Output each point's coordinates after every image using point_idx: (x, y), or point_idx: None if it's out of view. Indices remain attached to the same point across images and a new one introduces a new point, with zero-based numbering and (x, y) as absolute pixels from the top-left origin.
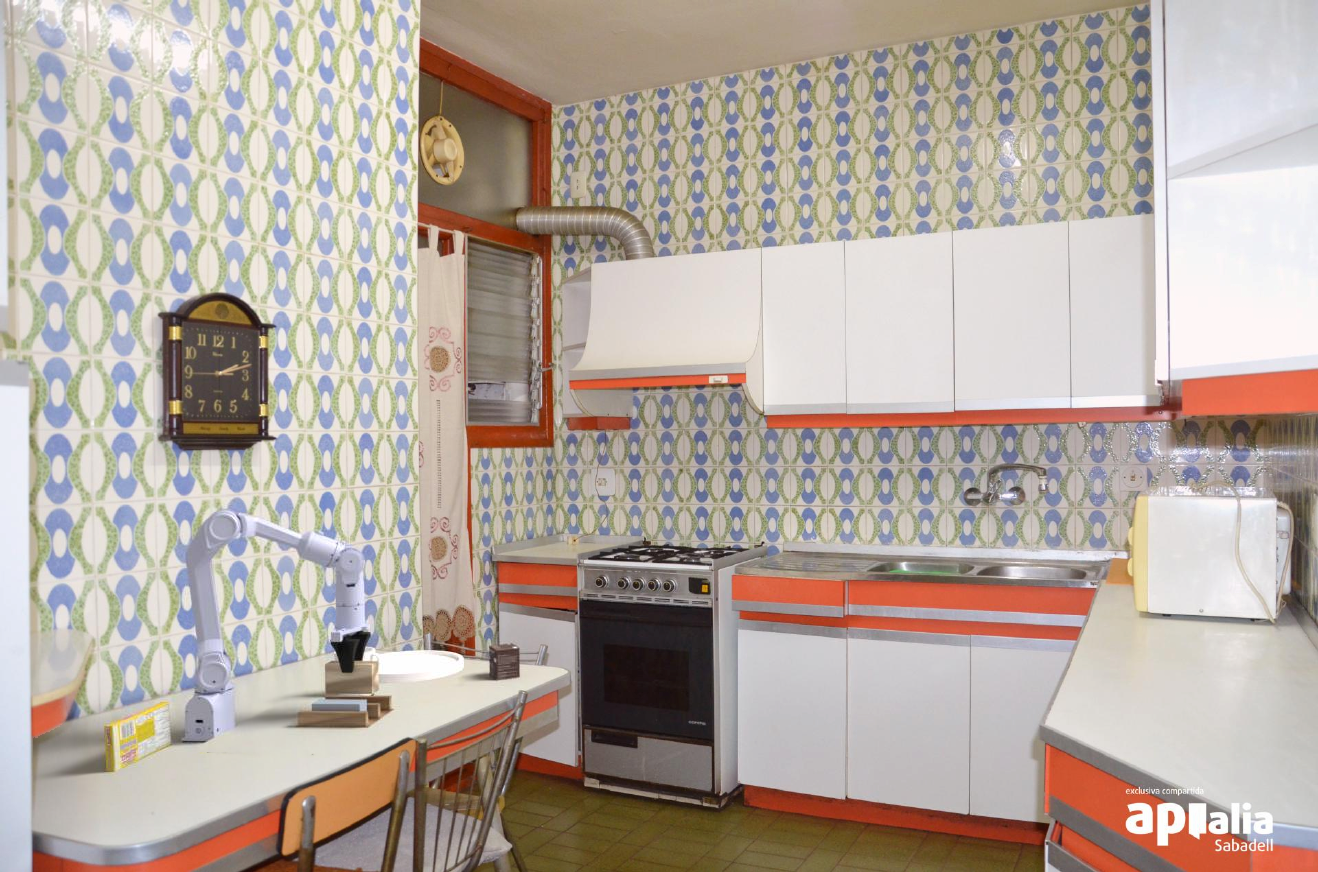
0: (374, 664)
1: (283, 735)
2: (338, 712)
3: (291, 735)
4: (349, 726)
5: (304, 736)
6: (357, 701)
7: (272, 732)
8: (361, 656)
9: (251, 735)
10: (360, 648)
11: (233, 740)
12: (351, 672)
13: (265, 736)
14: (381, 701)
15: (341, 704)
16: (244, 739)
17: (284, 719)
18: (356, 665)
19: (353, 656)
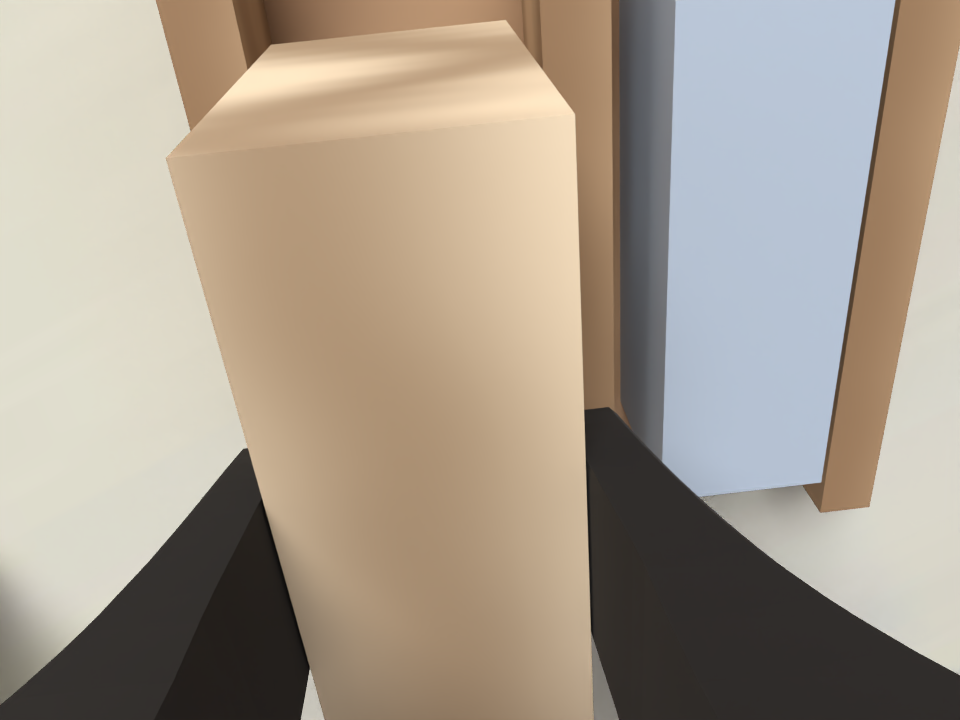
0: (412, 121)
1: (888, 452)
2: (928, 167)
3: (895, 407)
4: None
5: (935, 313)
6: (761, 77)
7: (810, 543)
8: (238, 554)
9: (863, 608)
10: (199, 716)
11: (953, 633)
12: (608, 408)
13: (896, 534)
14: (244, 10)
15: (862, 204)
16: (942, 598)
17: None
18: (579, 415)
19: (727, 551)
